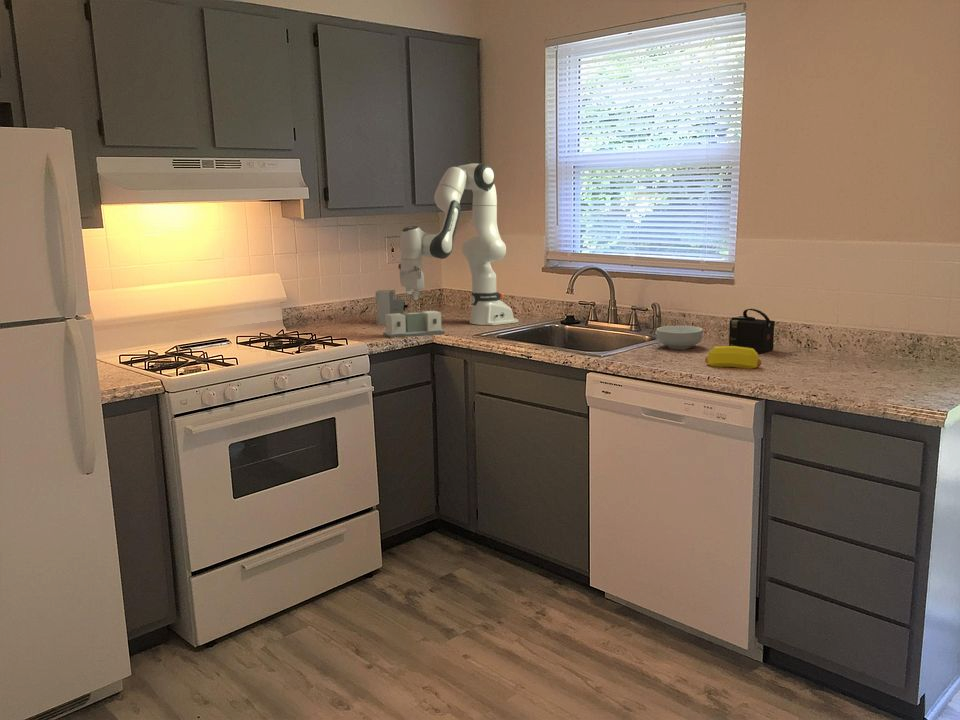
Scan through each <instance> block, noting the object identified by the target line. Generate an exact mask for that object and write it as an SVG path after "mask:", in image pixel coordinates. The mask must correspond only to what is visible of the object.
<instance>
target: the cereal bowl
mask: <svg viewBox="0 0 960 720" xmlns="http://www.w3.org/2000/svg"><path fill="white" fill-rule="evenodd" d="M703 333H704V329H703V328H701V327H699V326H691V325H666V326H665V325H664V326H660V327H658V328H656V337H657V339H658V342H659V343H661V344H662V345H664V346H667V347H668V348H669V349H674V350H686V349H690V348H691V347H693V346H695V345H697V344H699V343H700V342H701V340H702V338H703V335H704V334H703Z"/></svg>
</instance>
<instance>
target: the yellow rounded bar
mask: <svg viewBox="0 0 960 720" xmlns="http://www.w3.org/2000/svg"><path fill="white" fill-rule="evenodd" d="M758 354H759V353H757V352H756V351H755V350H754V349H753V348H746V347H738V346H729V345H723V346H721V345H720V346H719V345H718V346H714V347H713V348H712V349H711V350H710V351H709V352H708V355H707V356H706V357H705V359H704V361H705V363H706V364H707V365H708V366H710V367H714V368H715V367H716V368H717V367H718V368H730V367H731V368H736V369H737V368H739V369H746V370H747V369H749V370H754V369H755V368H758V367H761V365H762V361H761V359H760V358H759V355H758Z"/></svg>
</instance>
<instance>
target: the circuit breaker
mask: <svg viewBox="0 0 960 720" xmlns="http://www.w3.org/2000/svg"><path fill="white" fill-rule="evenodd" d="M374 297H375V300H374V301H375V302H376V303H377V313H376V315H375V319H376V320H375V322H376V323H375V324H377V325H386V318H385V314H395V313H400V314H403V315H404V313H406V309H408V308H409V304H406V302H405V301H406V299H405V297H396V289H386V290H385V289H383V290H382V289H381V290H378V289H377V291H375V295H374Z"/></svg>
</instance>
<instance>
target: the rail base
mask: <svg viewBox="0 0 960 720" xmlns="http://www.w3.org/2000/svg"><path fill="white" fill-rule="evenodd" d="M420 313H423V321H424V331H420V332H406V324H405V315H403V314H400V313H395V314H385V318H386V324H385V331H384V332H383V333H382V335H383V336H384V335H385V336H384V337H387V338H389V337H390V338H389V339H395V338H394V337H400V338H405V337H404V336H412V337H421V336H432V335H445V334H446V333H445V332H446V331H444V329H442V328H443V327H442V312H441V311H436V310H428V311H427V310H424V311H421V312H420ZM444 333H445V334H444Z"/></svg>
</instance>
